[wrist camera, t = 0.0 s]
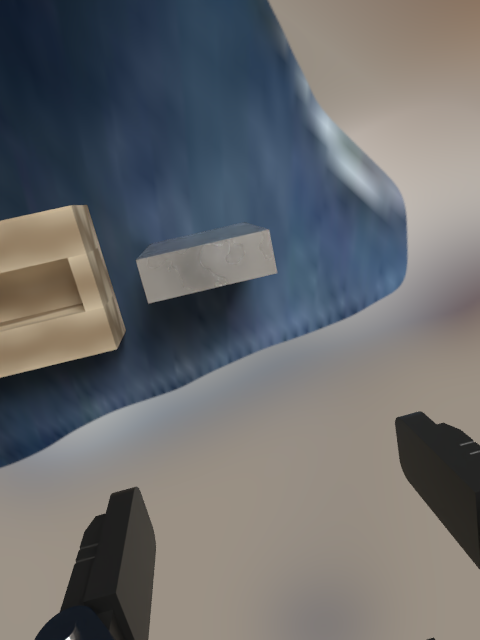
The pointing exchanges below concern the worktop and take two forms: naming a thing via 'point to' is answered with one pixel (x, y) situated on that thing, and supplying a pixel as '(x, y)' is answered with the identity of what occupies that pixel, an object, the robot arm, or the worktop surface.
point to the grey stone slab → (205, 261)
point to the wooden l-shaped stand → (54, 291)
